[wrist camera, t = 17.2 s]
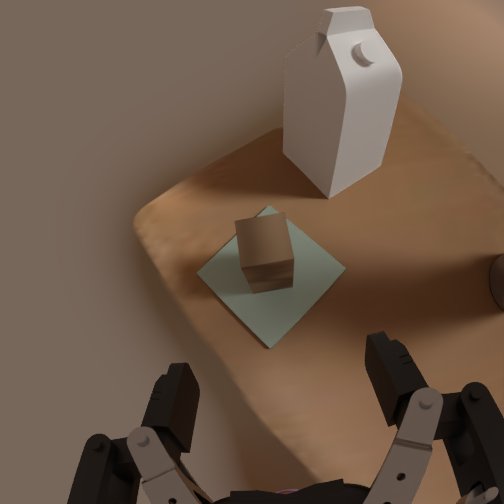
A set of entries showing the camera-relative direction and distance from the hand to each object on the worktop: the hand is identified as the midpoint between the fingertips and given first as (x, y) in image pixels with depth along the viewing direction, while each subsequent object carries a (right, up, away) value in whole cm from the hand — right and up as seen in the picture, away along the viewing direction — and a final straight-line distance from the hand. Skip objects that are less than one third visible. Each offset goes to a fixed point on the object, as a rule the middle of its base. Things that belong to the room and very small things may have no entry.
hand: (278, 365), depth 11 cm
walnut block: (+1, +2, +24) cm, 24 cm away
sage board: (+1, +2, +25) cm, 25 cm away
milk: (+12, +20, +31) cm, 39 cm away
